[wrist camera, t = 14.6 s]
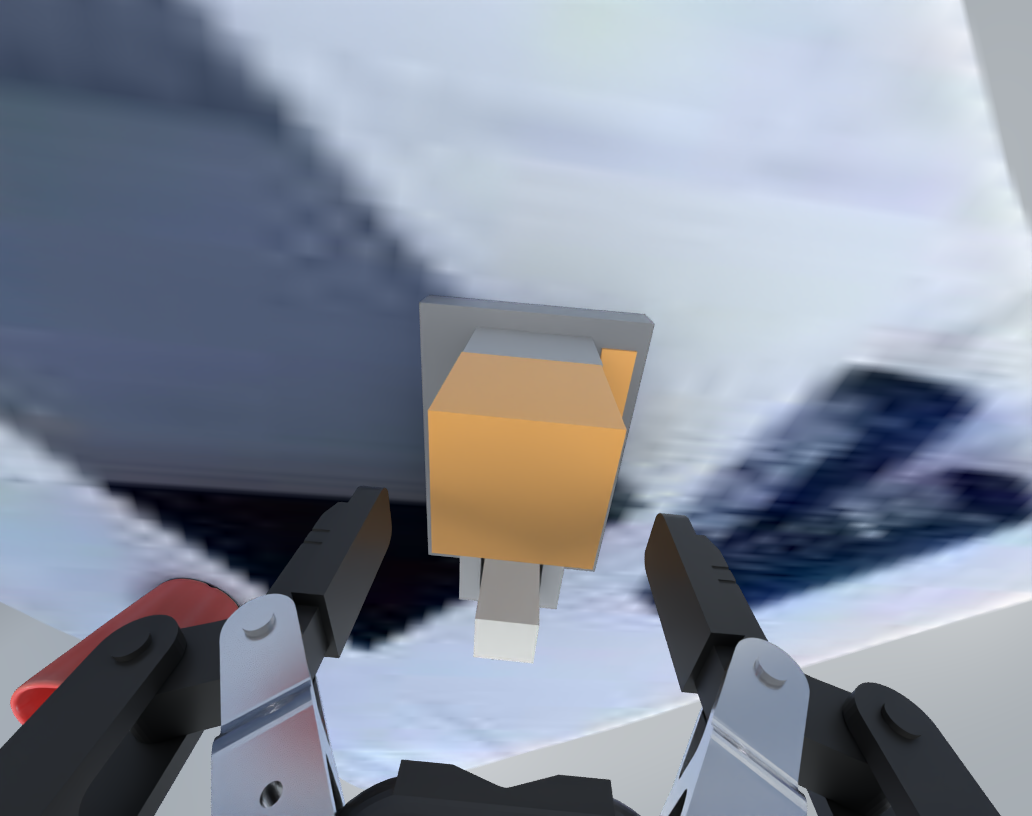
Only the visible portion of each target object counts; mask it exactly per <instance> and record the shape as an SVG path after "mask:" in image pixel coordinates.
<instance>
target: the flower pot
mask: <svg viewBox="0 0 1032 816" xmlns="http://www.w3.org/2000/svg"><path fill="white" fill-rule="evenodd" d="M238 608H239V607H238V606H237V604H236V603H235V602H234V601H233V600H232V599H231V598H230V597H229V596H228V595H227V594H225V593H224V592H222V591H221V590H219V589H217V588H212V587H210V586H209V585H208V584H206V583H204V582H200V581H197V580H192V579H173V580H169V581H166V582H164V583H162V584H161V585H159V586H158V587H156V588H155V589H153V590H152V591H150V592H149V593H148V594H146V595H145V596H143V597H142V598H140V599H139V600H138V601H136V602H135V603H133V604H132V605H131V606H129V607H128V608H126V609H125V610H124V611H122V612H121V613H119V614H118V615H116V616H115V617H114V618H112V619H111V620H109V621H108V622H107V623H105V624H104V625H103V626H101V627H100V628H98V629H97V630H96V631H94V632H93V633H92V634H90V635H89V636H88V637H86V638H85V639H84V640H82V641H81V642H80V643H78V644H77V645H76V646H74V647H73V648H71V649H70V650H69V651H67V652H66V653H64V654H63V655H62V656H60V657H59V658H57V659H56V660H55V661H53V662H52V663H51V664H49V665H48V666H47V667H45V668H44V669H42V670H41V671H40V672H39V673H37V674H36V675H34V676H33V677H32V678H30V679H29V680H28V681H26V682H25V683H24V684H22V685H21V686H20V687H19V688H18V689H16V691H15V692H14V693H13V695H12V697H11V701H10V704H11V709H12V711H13V713H14V715H15V717H16V718H17V719H18V721H19V722H20V723H21V724H22V725H23V724H24V723H25V722H26V721H27V720H28V719H29V718H30V717H31V716H32V715H33V714H34V712H35V711H36V710H37V709H38V708H39V707H40V706H41V705H42V704H43V703H44V702H45V701H46V700H47V699H48V698H49V697H50V695H51V694H52V693H53V692H54V691H55V690H56V689H57V688H58V687H59V686H60V685H61V684H62V683H63V682H64V681H65V679H66V678H67V677H68V676H69V675H70V674H71V673H72V672H73V671H74V670H75V669H76V668H77V667H78V666H79V665H80V664H81V662H82V661H83V660H84V659H85V658H86V657H87V656H88V655H89V654H90V653H91V652H92V651H93V650H94V649H95V648H96V647H97V646H98V645H99V644H100V643H101V642H102V641H103V640H104V639H105V638H106V637H108V636H109V635H110V634H111V633H113V632H114V631H116V630H117V629H119V628H121V627H122V626H124V625H126V624H128V623H130V622H132V621H134V620H137V619H140V618H143V617H146V616H151V615H168V616H171V617H172V618H174V619H175V620H176V622H177V623H178V625H179V627H180V629H181V628H186V627H191V626H196V625H201V624H206V623H211V622H216V621H221V620H224V619H228V618H229V617H230V616H231V615H232V614H233V613H234V612H235V611H236V610H237V609H238Z"/></svg>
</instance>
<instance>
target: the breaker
mask: <svg viewBox="0 0 1032 816" xmlns="http://www.w3.org/2000/svg"><path fill="white" fill-rule="evenodd" d="M539 585H540V564H534V563H524V562H515V561H505V560H496V559H486V558H485V562H484V568H483V574H482V580H481V586H480V592H479V598H478V604H477V610H476V616H475V633H474V656H473V657H478V658H487V659H497V660H506V661H515V662H524V663H533V661H534V655H535V648H536V642H537V636H538V630H539Z"/></svg>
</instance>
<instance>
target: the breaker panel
mask: <svg viewBox="0 0 1032 816" xmlns="http://www.w3.org/2000/svg"><path fill="white" fill-rule="evenodd" d="M419 312H420V339H421V365H422V392H423V418H424V445H425V471H426V498H427V525H428V551H429V555H438V556H447V557H457V558H460V594H459V599H464V600H473V601H478V598H479V592H480V586H481V580H482V574H483V568H484V562H485V558H477V557H467V556H458V555H448V554H439V553H432V540H431V504H430V467H429V431H428V409H429V408H430V406H431V404H432V402H433V401H434V399H435V397H436V395H437V394H438V392H439V390H440V388H441V387H442V385H443V383H444V382H445V380H446V378H447V376H448V375H449V373H450V371H451V369H452V368H453V366H454V364H455V363H456V361H457V359H458V357H459V356H460V354H461V352H469V353H479V354H490V355H500V356H510V357H521V358H531V359H542V360H552V361H563V362H573V363H583V364H594V365H602V368H603V371H604V373H605V376H606V378H607V381H608V383H609V386H610V388H611V391H612V394H613V396H614V399H615V401H616V404H617V406H618V409H619V411H620V414H621V417H622V419H623V422H624V424H625V427H626V429H627V431H626V435H625V439H624V443H623V447H622V451H621V455H620V459H619V464H618V468H617V472H616V476H615V480H614V484H613V488H612V492H611V496H610V501H609V505H608V509H607V513H606V517H605V521H604V525H603V529H602V533H601V538H600V542H599V546H598V550H597V554H596V558H595V562H594V566H593V570H591V569H581V568H572V567H562V566H553V565H543V564H540V585H539V607H540V608H549V609H557V604H558V598H559V593H560V588H561V583H562V577H563V572H564V569H574V570H584V571H593V572H595V568H596V564H597V560H598V556H599V551H600V547H601V543H602V539H603V535H604V531H605V527H606V522H607V518H608V514H609V510H610V506H611V502H612V498H613V494H614V489H615V485H616V481H617V477H618V473H619V469H620V465H621V461H622V456H623V452H624V448H625V444H626V440H627V436H628V432H629V428H630V423H631V419H632V415H633V411H634V407H635V403H636V399H637V394H638V390H639V386H640V382H641V378H642V374H643V370H644V366H645V361H646V357H647V353H648V349H649V345H650V341H651V337H652V333H653V328H654V323H653V322H652V321H651V320H650V319H649V318H648V317H647V316H646V315H645V314H635V313H624V312H613V311H602V310H591V309H579V308H568V307H557V306H546V305H535V304H524V303H513V302H502V301H491V300H479V299H468V298H457V297H446V296H435V295H429V296H427V297H426V298H425V299H423V300H422V301H420V302H419Z"/></svg>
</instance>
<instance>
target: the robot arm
mask: <svg viewBox="0 0 1032 816" xmlns="http://www.w3.org/2000/svg"><path fill="white" fill-rule="evenodd" d="M391 531H392V525H391V515H390V506H389V496H388V491H387V489H386V488H379V487H368V486H360V487H358V488H357V490H356V491H355V493H354V494H353V496H352V497H351V499H350V501H349V502H348V503H345V502H338V503H337V504H335V505H334V506H333V507H331V508H330V509H329V510H327V511H326V512H325V513H323V514H322V516H321V517H320V519H319V520H318V522H317V523H316V524H315V526H314V527H313V530H312V532H310V533H309V534H308V536H307V537H306V539H305V540H304V544H301V546H300V547H299V549H298V550H297V552H296V553H295V554H294V556H293V557H292V559H291V560H290V561H289V563H288V564H287V566H286V567H285V569H284V570H283V571H282V573H281V574H280V576H279V577H278V579H277V580H276V581H275V583H274V584H273V586H272V587H271V589H270V590H269V591H268V592H267V594H266V595H263V596H260V597H257V598H255V599H253V600H251V601H249V602H247V603H245V604H244V605H242V606H241V607H240V608H238V609H237V610H236V611H235V612H234V613H233V614H232V615H231V616H230V617H229V618H228V619H224V620H221V621H216V622H211V623H206V624H201V625H196V626H191V627H186V628H181V629H180V627H179V625H178V623H177V622H176V620H175V619H174V618H172V617H171V616H168V615H151V616H146V617H143V618H140V619H137V620H134V621H132V622H130V623H128V624H126V625H124V626H122V627H121V628H119V629H117V630H116V631H114V632H113V633H111V634H110V635H109V636H108V637H106V638H105V639H104V640H103V641H102V642H101V643H100V644H99V645H98V646H97V647H96V648H95V649H94V650H93V651H92V652H91V653H90V654H89V655H88V656H87V657H86V658H85V659H84V660H83V661H82V662H81V664H80V665H79V666H78V667H77V668H76V669H75V670H74V671H73V672H72V673H71V674H70V675H69V676H68V677H67V678H66V679H65V681H64V682H63V683H62V684H61V685H60V686H59V687H58V688H57V689H56V690H55V691H54V692H53V693H52V694H51V695H50V697H49V698H48V699H47V700H46V701H45V702H44V703H43V704H42V705H41V706H40V707H39V708H38V709H37V710H36V711H35V712H34V714H33V715H32V716H31V717H30V718H29V719H28V720H27V721H26V722H25V723H24V724H23V725H22V726H21V727H20V728H19V729H18V731H17V732H16V733H15V734H14V735H13V736H12V737H11V738H10V739H9V740H8V741H7V742H6V743H5V744H4V746H3V747H2V748H1V749H0V816H154V815H155V813H156V812H157V810H158V808H159V806H160V805H161V803H162V801H163V800H164V798H165V796H166V794H167V793H168V791H169V789H170V788H171V786H172V784H173V783H174V781H175V779H176V777H177V776H178V774H179V772H180V770H181V769H182V767H183V765H184V764H185V762H186V760H187V759H188V757H189V755H190V753H191V752H192V750H193V748H194V747H195V745H196V743H197V741H198V740H199V738H200V736H201V735H202V733H203V731H204V730H206V729H209V728H213V727H217V726H221V733H220V735H219V736H217V737H216V738H215V739H214V742H213V746H212V756H211V783H212V784H211V803H212V804H211V806H212V807H211V816H640V815H639V814H637V813H636V812H635V811H634V810H632V809H631V808H629V807H628V806H626V805H625V804H623V803H621V802H620V801H618V800H616V799H614V798H613V796H612V788H611V781H610V780H606V779H597V778H586V777H575V776H565V775H556V776H552V777H549V778H545V779H541V780H537V781H533V782H529V783H525V784H521V785H517V786H514V787H509V788H504V787H500V786H497V785H495V784H493V783H491V782H489V781H487V780H485V779H482V778H480V777H478V776H476V775H474V774H472V773H470V772H468V771H465V770H463V769H461V768H459V767H457V766H455V765H452V764H442V763H432V762H421V761H411V760H401V764H400V768H399V772H398V776H397V777H394V778H390V779H387V780H385V781H383V782H380V783H378V784H375V785H373V786H372V787H370V788H368V789H366V790H365V791H363V792H361V793H360V794H359V795H357V796H356V797H354V798H353V799H352V800H350V801H349V802H348V803H347V804H345V802H344V797H343V793H342V789H341V784H340V780H339V776H338V772H337V768H336V764H335V760H334V756H333V751H332V747H331V742H330V738H329V733H328V728H327V723H326V719H325V714H324V709H323V705H322V700H321V695H320V691H319V686H318V681H317V677H316V673H317V670H318V668H319V666H320V664H321V662H322V660H323V658H324V657H333V658H339V657H340V655H341V653H342V650H343V648H344V646H345V644H346V641H347V639H348V637H349V635H350V632H351V630H352V628H353V625H354V623H355V621H356V619H357V616H358V614H359V612H360V610H361V607H362V605H363V603H364V601H365V598H366V596H367V594H368V591H369V589H370V587H371V585H372V582H373V580H374V578H375V576H376V573H377V571H378V569H379V567H380V564H381V562H382V560H383V557H384V555H385V553H386V551H387V548H388V546H389V542H390V538H391ZM645 570H646V574H647V577H648V581H649V584H650V587H651V591H652V594H653V598H654V601H655V604H656V608H657V611H658V614H659V618H660V621H661V624H662V628H663V631H664V635H665V638H666V641H667V645H668V648H669V651H670V655H671V658H672V662H673V665H674V668H675V672H676V675H677V678H678V682H679V685H680V688H681V692H687V693H697V694H698V695H699V698H700V701H701V704H702V708H701V710H700V712H699V715H698V717H697V720H696V723H695V726H694V729H693V732H692V735H691V737H690V740H689V743H688V745H687V748H686V751H685V754H684V756H683V759H682V762H681V765H680V768H679V770H678V773H677V776H676V779H675V782H674V784H673V787H672V789H671V791H670V794H669V796H668V798H667V800H666V803H665V805H664V807H663V809H662V812H661V814H660V816H807V801H806V798H805V796H804V794H802V793H801V792H800V791H799V790H798V785H800V786H802V787H804V788H806V789H807V791H808V793H809V795H810V798H811V800H812V803H813V805H814V807H815V810H816V812H817V814H818V816H1000V814H999V813H998V811H997V810H996V809H995V807H994V806H993V805H992V803H991V802H990V800H989V799H988V797H987V796H986V795H985V793H984V792H983V791H982V789H981V788H980V786H979V785H978V784H977V782H976V781H975V780H974V778H973V777H972V775H971V774H970V772H969V771H968V770H967V768H966V767H965V766H964V764H963V763H962V761H961V760H960V759H959V757H958V756H957V754H956V753H955V752H954V750H953V749H952V747H951V746H950V745H949V743H948V742H947V741H946V739H945V738H944V736H943V735H942V734H941V732H940V731H939V729H938V728H937V727H936V725H935V724H934V723H933V722H932V721H931V719H929V717H928V716H927V715H926V714H925V713H924V712H923V711H922V710H921V709H920V708H919V707H917V706H916V705H915V704H914V703H913V702H911V701H910V700H909V699H907V698H906V697H905V696H903V695H901V694H900V693H898V692H896V691H895V690H893V689H891V688H889V687H886V686H883V685H881V684H877V683H869V682H868V683H862V684H860V685H859V686H858V687H857V688H856V689H855V690H854V691H853V692H852V693H850V692H848V691H845V690H843V689H840V688H838V687H835V686H833V685H830V684H827V683H825V682H822V681H820V680H817V679H815V678H812V677H810V676H808V675H806V674H804V673H803V671H802V670H801V668H800V667H799V665H798V664H797V663H796V662H795V661H794V660H793V659H792V658H791V657H790V656H789V655H788V654H787V653H786V652H784V651H783V650H782V649H780V648H779V647H777V646H776V645H774V644H772V643H770V642H768V640H767V639H766V637H765V635H764V633H763V631H762V629H761V628H760V626H759V624H758V622H757V620H756V618H755V616H754V614H753V612H752V611H751V609H750V607H749V605H748V603H747V601H746V599H745V597H744V595H743V594H742V592H741V590H740V588H739V586H738V585H737V584H736V580H735V579H734V577H733V575H732V573H731V571H730V570H728V565H727V563H726V562H725V560H724V558H723V556H722V554H721V552H720V550H719V549H718V548H717V547H716V546H715V545H714V544H713V543H712V542H711V541H710V540H709V539H708V538H707V537H706V536H704V535H696V533H695V531H694V529H693V527H692V525H691V523H690V521H689V519H688V518H687V517H686V516H684V515H673V514H662V513H659V514H658V515H657V516H656V518H655V521H654V525H653V528H652V531H651V534H650V537H649V540H648V544H647V547H646V550H645Z"/></svg>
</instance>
